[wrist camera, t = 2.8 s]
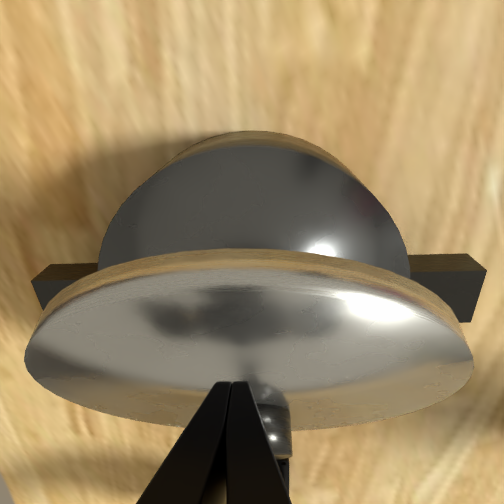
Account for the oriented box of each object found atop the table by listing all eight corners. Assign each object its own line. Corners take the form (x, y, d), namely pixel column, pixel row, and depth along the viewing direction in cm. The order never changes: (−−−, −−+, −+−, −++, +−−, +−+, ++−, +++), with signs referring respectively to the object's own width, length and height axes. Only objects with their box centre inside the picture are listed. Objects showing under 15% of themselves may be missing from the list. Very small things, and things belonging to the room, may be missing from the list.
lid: (390, 410, 20) (403, 468, 19) (130, 410, 21) (118, 465, 20) (585, 238, 8) (690, 371, 6) (-94, 257, 8) (-192, 377, 7)
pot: (410, 369, 26) (440, 429, 21) (117, 371, 27) (88, 428, 23) (467, 120, 18) (535, 133, 13) (43, 140, 19) (-26, 158, 14)
